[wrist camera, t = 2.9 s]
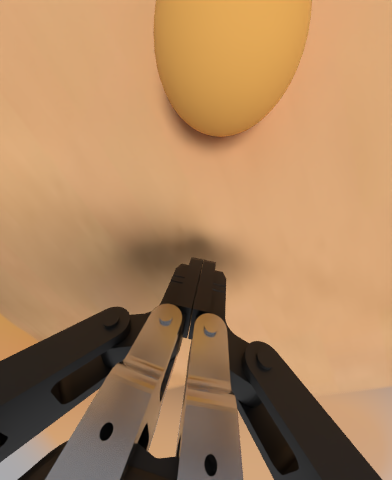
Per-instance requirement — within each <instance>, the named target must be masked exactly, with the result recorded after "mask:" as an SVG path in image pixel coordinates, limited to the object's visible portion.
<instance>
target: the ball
mask: <svg viewBox="0 0 392 480" xmlns="http://www.w3.org/2000/svg"><path fill="white" fill-rule="evenodd" d="M311 6H312V0H156V6H155V15H154V47H155V56H156V63H157V68H158V72H159V76H160V79H161V82H162V85H163V88H164V91H165V93H166V95H167V97H168V99H169V101H170V103H171V105H172V106H173V108H174V109H175V111H176V112H177V113H178V115H179V116H180V117H181V118H182V119H183V120H184V121H185V122H186V123H187V124H188V125H190V126H191V127H192V128H193V129H195V130H197V131H199V132H201V133H204V134H206V135H211V136H219V137H223V136H231V135H235V134H238V133H241V132H243V131H246V130H247V129H249V128H251V127H253V126H254V125H255V124H257V123H258V122H259V121H261V120H262V119H263V118H264V117H265V116H266V115H267V114H268V113H269V112H270V111H271V110H272V109H273V108H274V106H275V105H276V104H277V103H278V101H279V100H280V99H281V97H282V96H283V94H284V93H285V91H286V90H287V88H288V86H289V84H290V83H291V81H292V79H293V76H294V74H295V72H296V70H297V67H298V65H299V62H300V59H301V56H302V54H303V51H304V47H305V43H306V39H307V36H308V30H309V24H310V17H311Z"/></svg>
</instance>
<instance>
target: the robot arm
mask: <svg viewBox="0 0 392 480" xmlns="http://www.w3.org/2000/svg"><path fill="white" fill-rule="evenodd" d="M202 264H203V267H202ZM215 264H216V262H212V261H207V260H204V263H203V260H202V259H197V258H191V261H190V264H189V265H185V264H181V265H180V266H179V267H177V268H176V270H175V272H174V274H173V277H172V279H171V282H170V283H169V286H168V288H167V290H166V293H165V295H164V297H163V299H162V302H161V304H160V305H159V306H157V307H156V308H155V309H154V310H153V311H151V312H149V313H146V314H136V315H129V312H128V311H127V310H126V309H124V308H122V307H111V308H108V309H106V310H104V311H102V312H100V313H98V314H96V315H94V316H92V317H90V318H88V319H85V320H83V321H81V322H79V323H77V324H75V325H73V326H71V327H69V328H67V329H65V330H63V331H61V332H59V333H57V334H55V335H53V336H51V337H49V338H47V339H45V340H43V341H41V342H38V343H37V344H34V345H33V346H30V347H28V348H26V349H24V350H22V351H20V352H18V353H16V354H14V355H12V356H10V357H8V358H6V359H4V360H2V361H0V462H1V461H3V460H4V459H5V458H7V457H8V456H9V455H10V454H12V453H13V452H15V451H16V450H17V449H19V448H20V447H21V446H23V445H24V444H25V443H27V442H28V441H29V440H31V439H32V438H33V437H35V436H36V435H37V434H39V433H40V432H41V431H43V430H44V429H45V428H47V427H48V426H50V425H51V424H52V423H53V422H55V421H56V420H58V419H59V418H60V417H62V416H63V415H64V414H66V413H67V412H68V411H70V410H71V409H72V408H74V407H75V406H76V405H78V404H79V403H80V402H82V401H83V400H84V399H86V398H87V397H88V396H90V395H91V394H92V393H94V392H95V391H96V390H98V389H99V388H100V387H101V388H100V389H99V391H98V393H97V394H96V396H95V398H94V399H93V401H92V402H91V404H90V406H89V407H88V409H87V411H86V413H85V414H84V416H83V418H82V419H81V421H80V423H79V424H78V426H77V427H76V429H75V431H74V433H73V434H72V436H71V438H70V439H69V440H68V441H66V442H65V443H63V444H61V445H59V446H58V447H57V448H55V449H54V450H52V451H51V452H50V453H48V454H47V455H46V456H45V457H44V458H42V459H41V460H40V461H39V462H38V463H37V464H35V465H34V466H33V467H32V468H31V469H30V470H28V471H27V472H26V473H25V474H24V475H23V476H21V477H20V478H19V479H18V480H243V471H242V459H241V447H240V435H239V423H238V412H237V409H238V411H239V413H240V415H241V417H242V419H243V420H244V422H245V424H246V426H247V428H248V430H249V432H250V434H251V436H252V438H253V440H254V442H255V443H256V446H257V447H258V449H259V451H260V453H261V455H262V457H263V459H264V461H265V463H266V465H267V467H268V468H269V470H270V472H271V474H272V476H273V478H274V480H382V479H381V478H380V476H379V475H378V474H377V473H376V472H375V470H374V469H373V468H372V467H371V466H370V464H369V463H368V462H367V461H366V460H365V458H364V457H363V456H362V455H361V454H360V452H359V451H358V450H357V449H356V447H355V446H354V445H353V444H352V443H351V441H350V440H349V439H348V438H347V437H346V435H345V434H344V433H343V432H342V430H341V429H340V428H339V427H338V426H337V424H336V423H335V422H334V421H333V420H332V418H331V417H330V416H329V415H328V414H327V412H326V411H325V410H324V409H323V408H322V406H321V405H320V404H319V403H318V401H317V400H316V399H315V398H314V397H313V395H312V394H311V393H310V392H309V391H308V389H307V388H306V387H305V386H304V385H303V383H302V382H301V381H300V380H299V378H298V377H297V376H296V375H295V374H294V372H293V371H292V370H291V369H290V368H289V366H288V365H287V364H286V363H285V362H284V360H283V359H282V358H281V357H280V356H279V354H278V353H277V352H276V351H275V350H274V349H273V348H272V347H271V346H269V345H268V344H266V343H264V342H260V341H254V342H251V343H250V344H249V343H248V342H246V341H244V340H242V339H241V338H239V337H237V336H236V335H235V334H234V333H232V331H231V330H230V329H229V328H228V326H227V324H226V320H225V301H226V278H225V276H224V274H223V272H219V271H215ZM201 270H202V271H201ZM190 322H191V325H190ZM189 327H190V331H189ZM188 331H189V337H188V339H192V341H191V346H190V352H189V357H188V365H187V373H186V381H185V389H184V397H183V404H182V412H181V419H180V426H179V433H178V441H177V449H176V456H175V457H169V458H161V459H159V458H155V457H154V456H152V455H151V454H150V453H149V452H148V450H149V447H150V444H151V441H152V438H153V435H154V431H155V428H156V425H157V421H158V418H159V414H160V409H161V406H162V402H163V399H164V396H165V393H166V390H167V386H168V383H169V380H170V377H171V374H172V371H173V368H174V365H175V362H176V359H177V356H178V352H179V350H180V346H181V342H182V338H183V337H184V338H187V336H188Z"/></svg>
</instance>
